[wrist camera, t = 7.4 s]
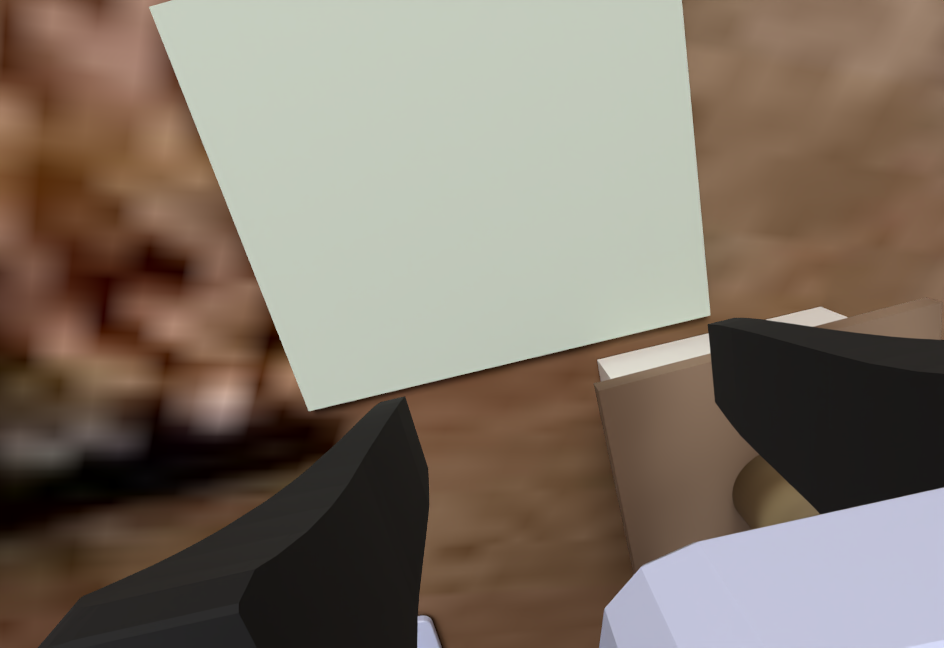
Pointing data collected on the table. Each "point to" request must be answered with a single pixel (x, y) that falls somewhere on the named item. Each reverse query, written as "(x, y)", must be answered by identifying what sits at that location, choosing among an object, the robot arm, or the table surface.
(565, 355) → the table surface
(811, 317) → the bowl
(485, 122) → the mat
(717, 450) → the lid
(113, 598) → the robot arm
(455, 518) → the table surface
